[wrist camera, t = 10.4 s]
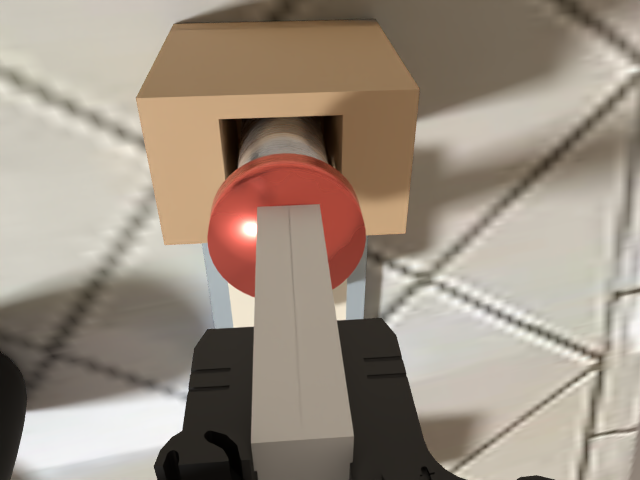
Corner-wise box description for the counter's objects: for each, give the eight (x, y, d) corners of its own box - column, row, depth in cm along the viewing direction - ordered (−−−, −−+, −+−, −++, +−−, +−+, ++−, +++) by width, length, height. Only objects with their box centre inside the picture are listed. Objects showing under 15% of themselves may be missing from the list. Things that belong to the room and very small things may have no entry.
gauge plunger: (222, 56, 20) (197, 175, 13) (332, 53, 21) (369, 168, 13) (232, 156, 23) (216, 306, 15) (331, 153, 23) (362, 298, 16)
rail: (173, 23, 22) (130, 109, 15) (375, 18, 23) (426, 99, 16) (240, 488, 41) (235, 627, 33) (352, 480, 41) (370, 615, 34)
